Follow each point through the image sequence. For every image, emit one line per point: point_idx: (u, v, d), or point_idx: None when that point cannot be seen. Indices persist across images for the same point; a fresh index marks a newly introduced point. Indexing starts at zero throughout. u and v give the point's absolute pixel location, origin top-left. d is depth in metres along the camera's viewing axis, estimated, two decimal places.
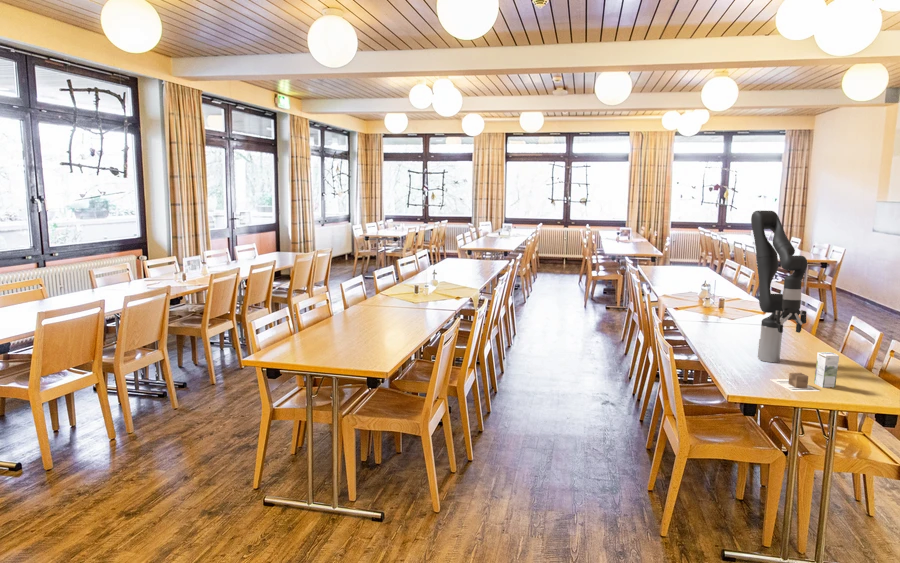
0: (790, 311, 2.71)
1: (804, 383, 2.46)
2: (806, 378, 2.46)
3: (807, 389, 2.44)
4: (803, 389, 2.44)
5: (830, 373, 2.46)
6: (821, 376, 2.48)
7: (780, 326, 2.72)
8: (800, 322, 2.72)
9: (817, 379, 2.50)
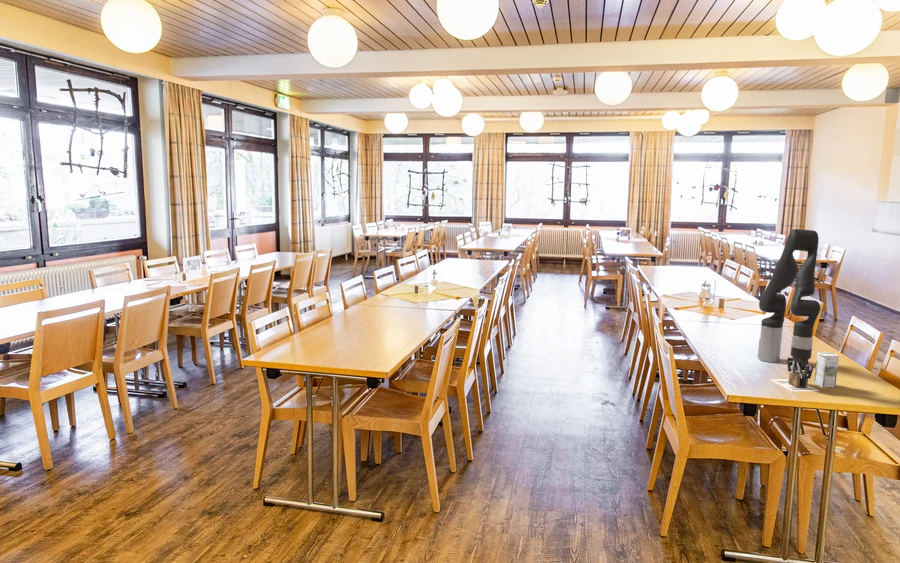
0: None
1: None
2: None
3: (807, 389, 2.44)
4: (803, 389, 2.44)
5: (830, 373, 2.46)
6: (821, 376, 2.48)
7: (805, 380, 2.45)
8: None
9: (817, 379, 2.50)
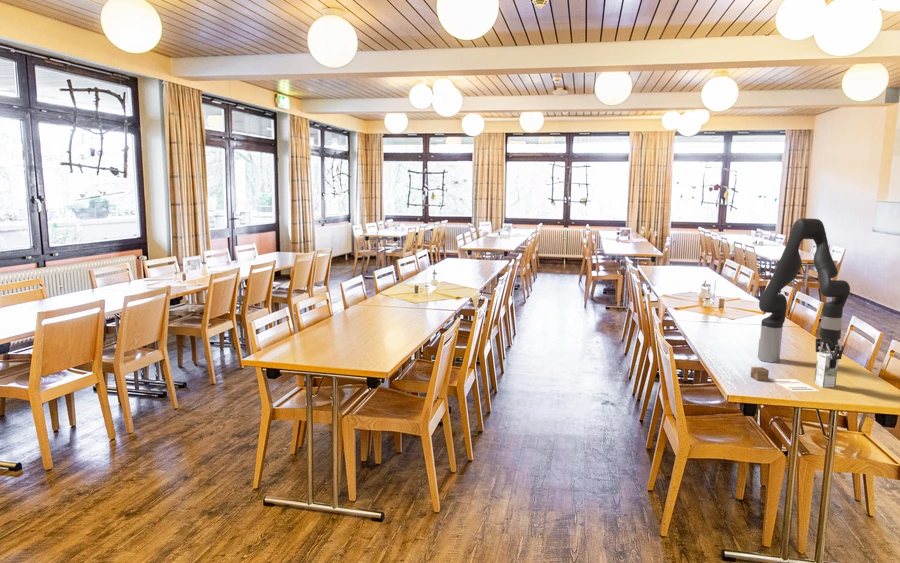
0: None
1: (765, 377, 2.56)
2: (767, 372, 2.55)
3: (807, 389, 2.44)
4: (803, 389, 2.44)
5: (830, 373, 2.46)
6: (821, 376, 2.48)
7: (835, 361, 2.44)
8: None
9: (817, 379, 2.50)
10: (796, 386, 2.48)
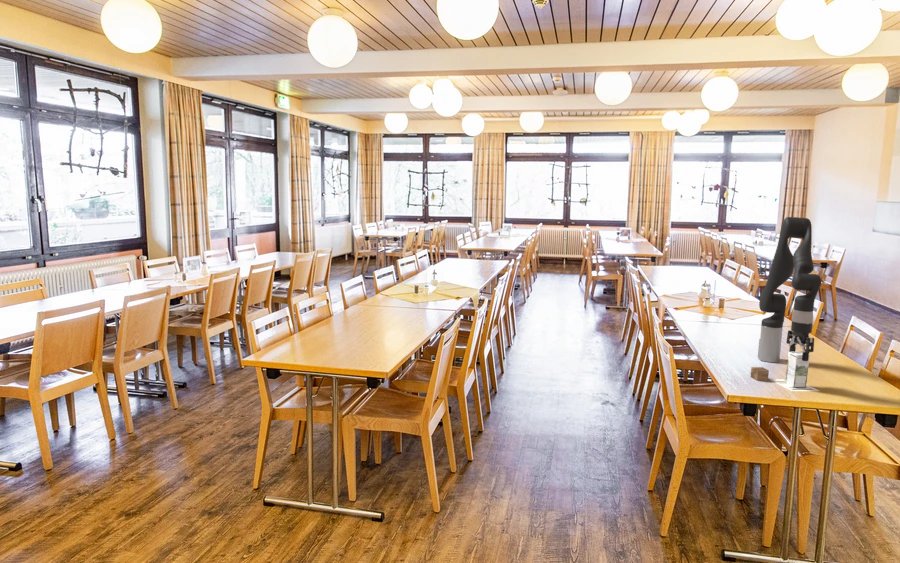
0: None
1: (765, 377, 2.56)
2: (767, 372, 2.55)
3: (807, 389, 2.44)
4: (803, 389, 2.44)
5: (801, 372, 2.45)
6: (792, 376, 2.47)
7: None
8: None
9: (788, 378, 2.49)
10: None
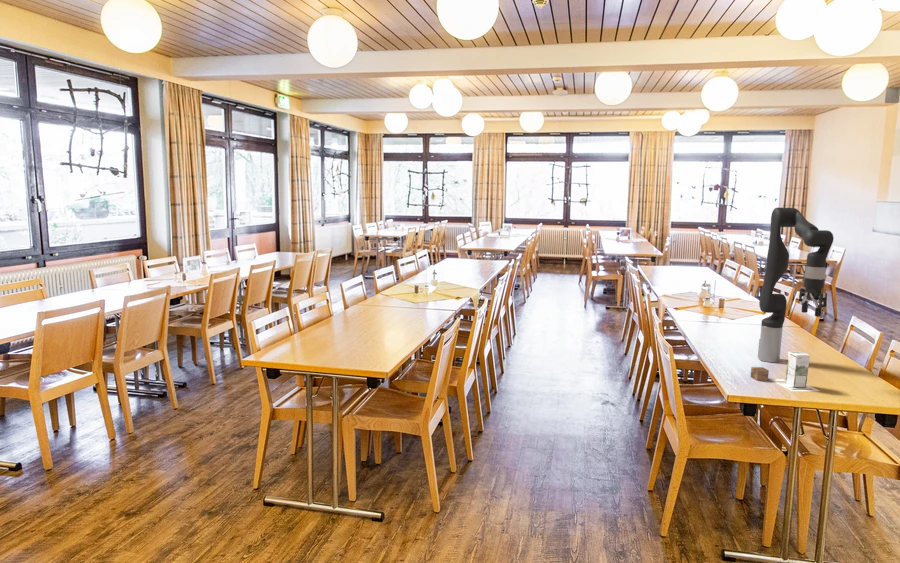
0: None
1: (765, 377, 2.56)
2: (767, 372, 2.55)
3: (807, 389, 2.44)
4: (803, 389, 2.44)
5: (801, 372, 2.45)
6: (792, 376, 2.47)
7: None
8: None
9: (788, 378, 2.49)
10: None
